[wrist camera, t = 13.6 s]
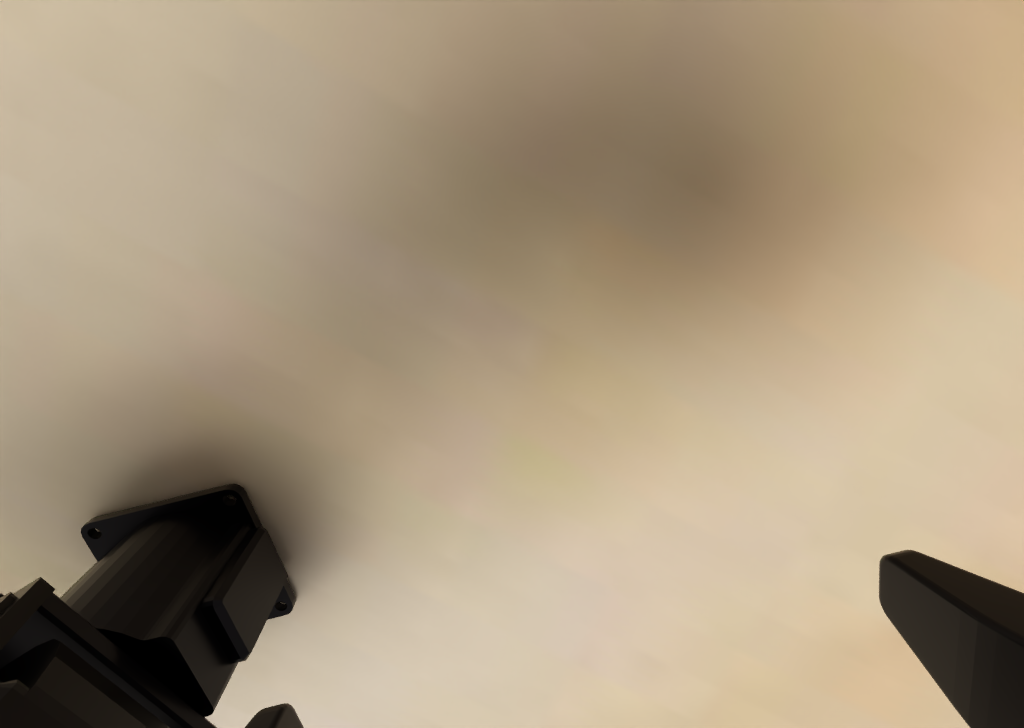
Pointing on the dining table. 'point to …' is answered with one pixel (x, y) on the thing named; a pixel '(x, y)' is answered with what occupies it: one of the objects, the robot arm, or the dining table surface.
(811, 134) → the dining table surface
